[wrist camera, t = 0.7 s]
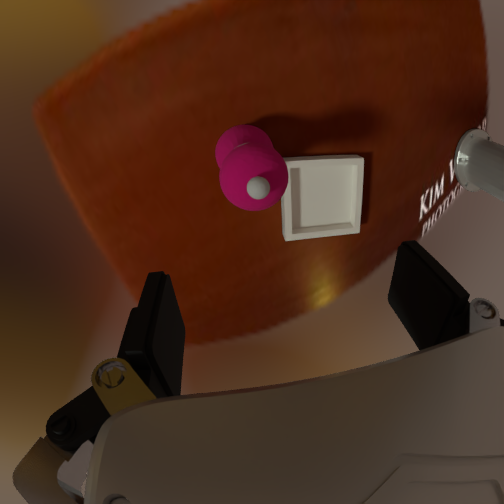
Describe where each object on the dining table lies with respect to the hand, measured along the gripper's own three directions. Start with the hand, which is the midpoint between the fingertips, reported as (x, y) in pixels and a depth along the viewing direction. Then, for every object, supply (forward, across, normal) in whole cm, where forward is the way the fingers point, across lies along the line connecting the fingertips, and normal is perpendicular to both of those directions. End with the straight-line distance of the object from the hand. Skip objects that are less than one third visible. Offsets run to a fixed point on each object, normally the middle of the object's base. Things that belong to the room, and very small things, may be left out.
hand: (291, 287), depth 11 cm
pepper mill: (+32, 0, 0) cm, 32 cm away
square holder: (+32, -11, +8) cm, 35 cm away
